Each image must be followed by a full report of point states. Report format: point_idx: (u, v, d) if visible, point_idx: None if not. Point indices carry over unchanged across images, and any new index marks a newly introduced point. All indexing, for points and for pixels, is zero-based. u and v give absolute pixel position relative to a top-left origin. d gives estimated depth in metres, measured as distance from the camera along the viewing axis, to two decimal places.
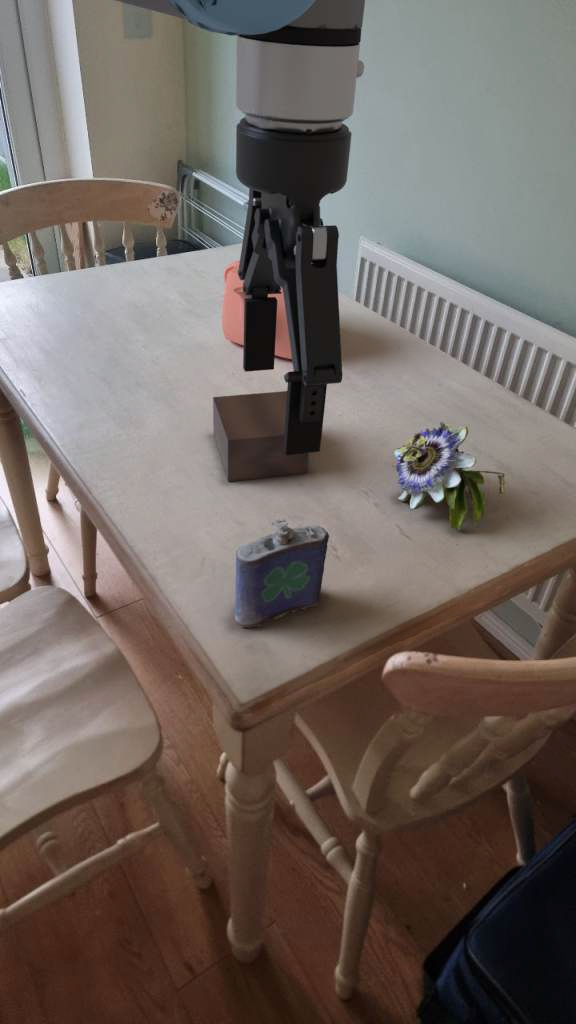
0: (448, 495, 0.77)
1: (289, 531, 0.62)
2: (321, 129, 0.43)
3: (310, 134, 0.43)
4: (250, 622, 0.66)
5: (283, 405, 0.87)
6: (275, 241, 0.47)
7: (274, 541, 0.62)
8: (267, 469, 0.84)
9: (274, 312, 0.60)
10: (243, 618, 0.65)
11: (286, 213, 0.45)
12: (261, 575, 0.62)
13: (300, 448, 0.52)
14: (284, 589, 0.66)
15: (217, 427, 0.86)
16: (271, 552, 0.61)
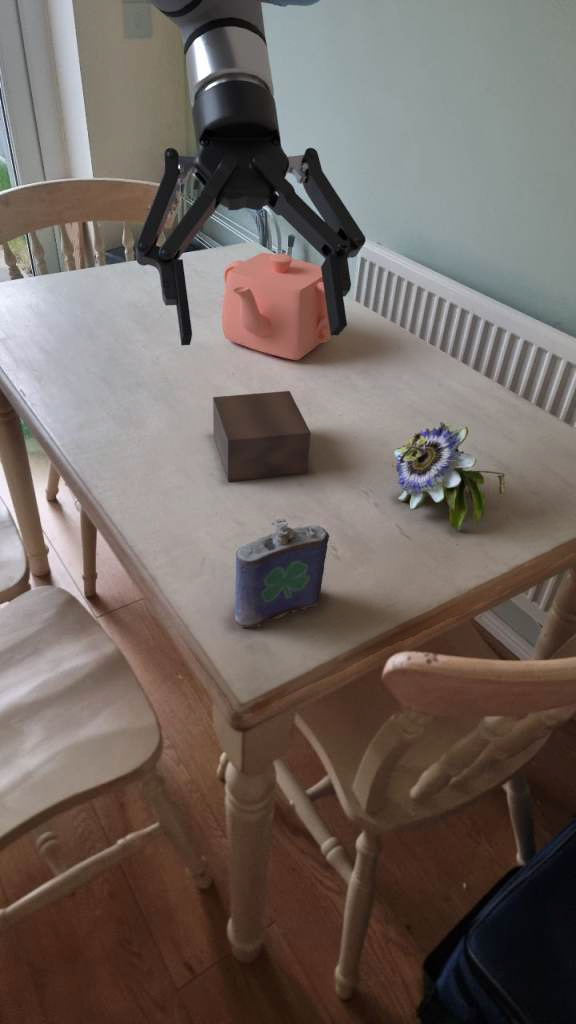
0: (448, 495, 0.77)
1: (289, 531, 0.62)
2: None
3: None
4: (250, 622, 0.66)
5: (283, 405, 0.87)
6: (273, 167, 0.60)
7: (274, 541, 0.62)
8: (267, 469, 0.84)
9: None
10: (243, 618, 0.65)
11: (275, 149, 0.61)
12: (262, 575, 0.62)
13: None
14: (284, 589, 0.66)
15: (217, 427, 0.86)
16: (271, 552, 0.61)
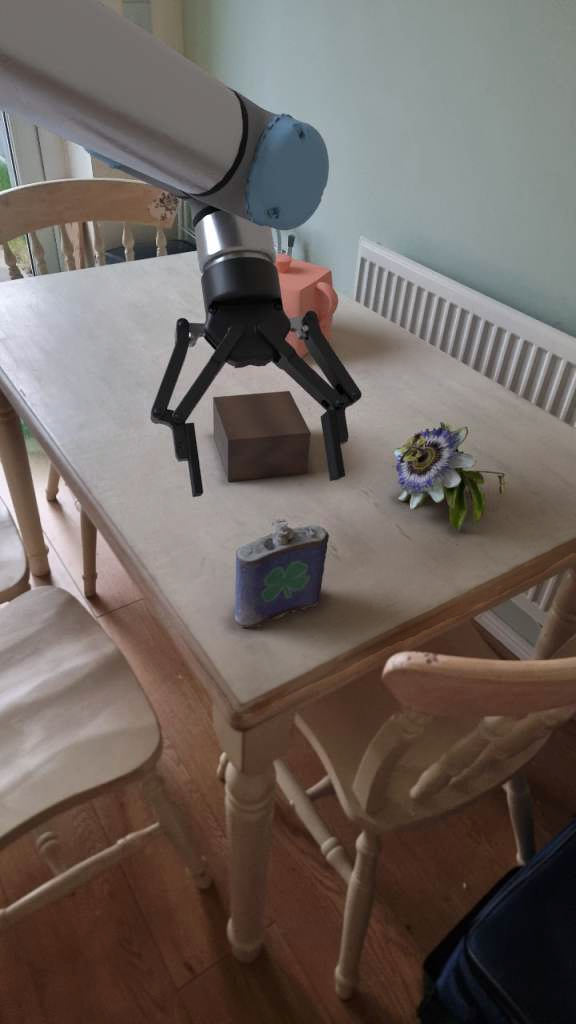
0: (448, 495, 0.77)
1: (289, 531, 0.62)
2: None
3: None
4: (250, 622, 0.66)
5: (283, 405, 0.87)
6: (276, 332, 0.66)
7: (274, 541, 0.62)
8: (267, 469, 0.84)
9: None
10: (243, 618, 0.65)
11: (278, 313, 0.66)
12: (261, 575, 0.62)
13: None
14: (284, 589, 0.66)
15: (217, 427, 0.86)
16: (271, 552, 0.61)
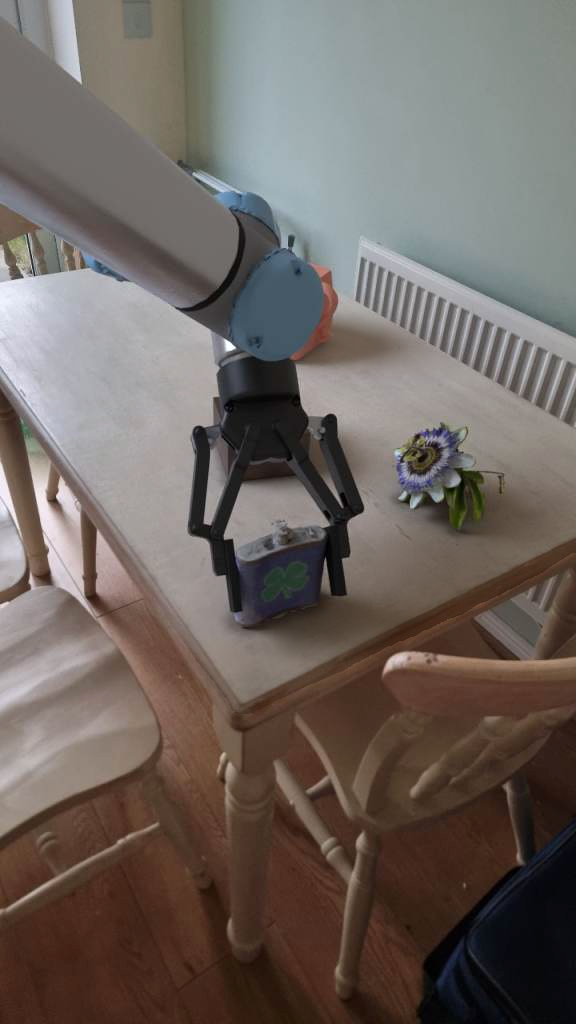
0: (448, 495, 0.77)
1: (289, 531, 0.62)
2: None
3: None
4: (250, 622, 0.66)
5: None
6: (293, 433, 0.63)
7: (274, 541, 0.62)
8: (267, 469, 0.84)
9: None
10: (242, 618, 0.65)
11: (296, 410, 0.64)
12: (261, 575, 0.62)
13: None
14: (284, 589, 0.66)
15: None
16: (271, 552, 0.61)
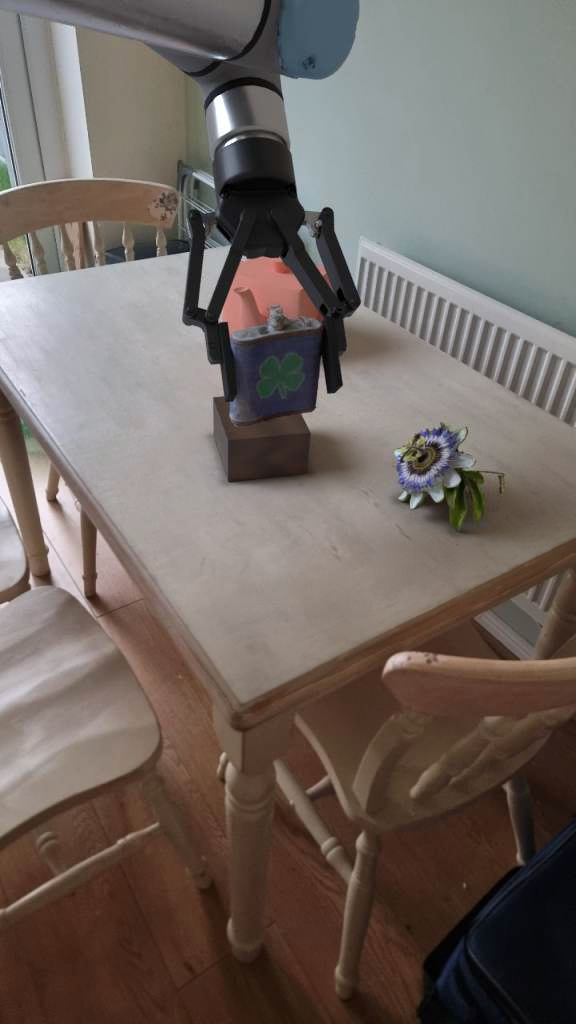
0: (448, 495, 0.77)
1: (284, 317, 0.62)
2: None
3: None
4: (245, 419, 0.65)
5: None
6: (289, 222, 0.63)
7: (269, 328, 0.62)
8: (267, 469, 0.84)
9: None
10: (237, 414, 0.65)
11: (292, 201, 0.64)
12: (256, 361, 0.62)
13: None
14: (280, 386, 0.65)
15: (217, 427, 0.86)
16: (266, 335, 0.61)
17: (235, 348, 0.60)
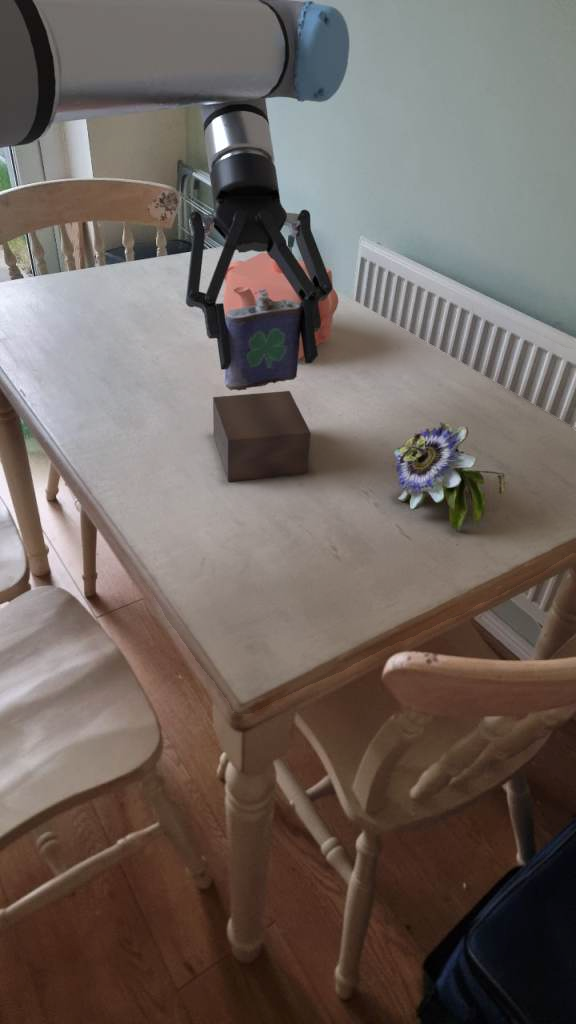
0: (448, 495, 0.77)
1: (269, 300, 0.76)
2: None
3: None
4: (237, 384, 0.79)
5: (283, 405, 0.87)
6: (273, 222, 0.77)
7: (257, 308, 0.76)
8: (267, 469, 0.84)
9: None
10: (231, 380, 0.79)
11: (276, 205, 0.78)
12: (246, 335, 0.76)
13: None
14: (266, 357, 0.79)
15: (217, 427, 0.86)
16: (254, 314, 0.75)
17: (229, 324, 0.74)
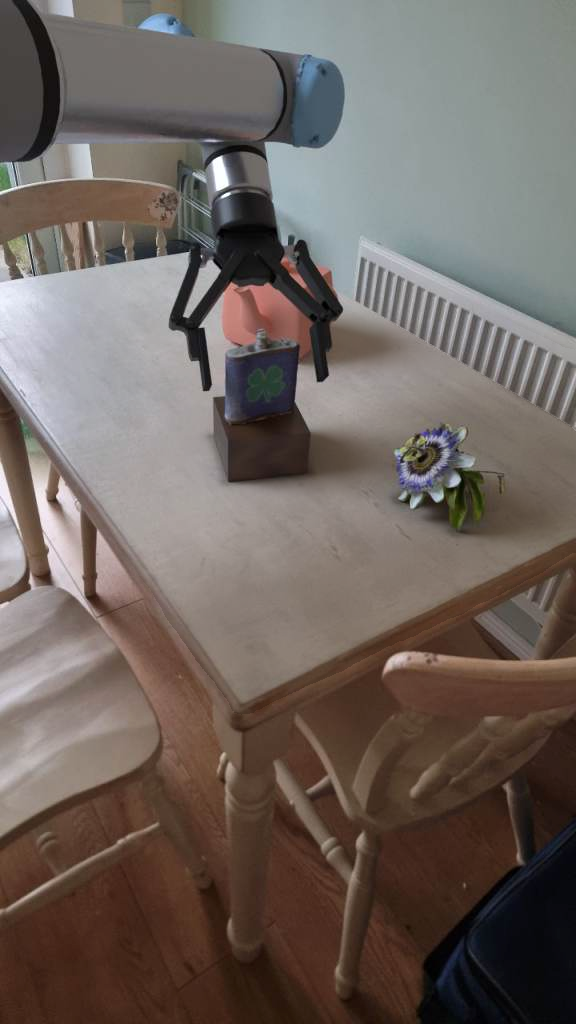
0: (448, 495, 0.77)
1: (267, 339, 0.79)
2: None
3: None
4: (237, 419, 0.82)
5: None
6: (272, 256, 0.79)
7: (255, 347, 0.79)
8: (267, 469, 0.84)
9: None
10: (231, 414, 0.81)
11: (274, 241, 0.80)
12: (246, 373, 0.79)
13: None
14: (264, 392, 0.82)
15: (217, 427, 0.86)
16: (253, 353, 0.78)
17: (229, 363, 0.77)
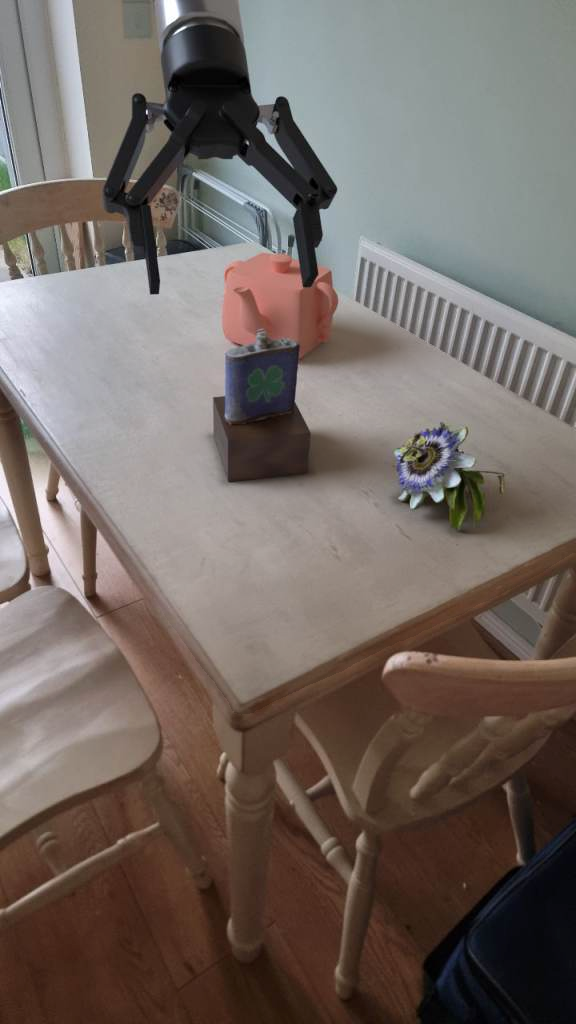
0: (448, 495, 0.77)
1: (267, 338, 0.79)
2: None
3: None
4: (237, 419, 0.82)
5: None
6: (243, 114, 0.60)
7: (255, 347, 0.79)
8: (267, 469, 0.84)
9: None
10: (231, 414, 0.81)
11: (245, 97, 0.60)
12: (245, 373, 0.79)
13: None
14: (264, 392, 0.82)
15: (217, 427, 0.86)
16: (253, 353, 0.78)
17: (229, 363, 0.77)
